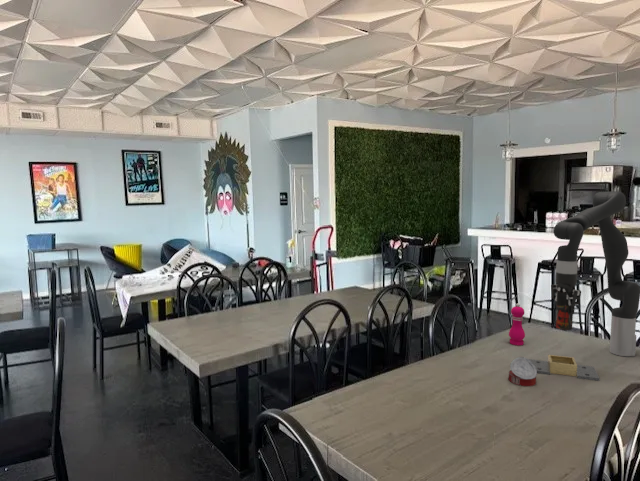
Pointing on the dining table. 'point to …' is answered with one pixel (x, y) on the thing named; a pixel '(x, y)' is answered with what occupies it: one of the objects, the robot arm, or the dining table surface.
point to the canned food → (522, 372)
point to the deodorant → (563, 312)
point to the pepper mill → (517, 326)
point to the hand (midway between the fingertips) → (564, 312)
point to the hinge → (565, 367)
